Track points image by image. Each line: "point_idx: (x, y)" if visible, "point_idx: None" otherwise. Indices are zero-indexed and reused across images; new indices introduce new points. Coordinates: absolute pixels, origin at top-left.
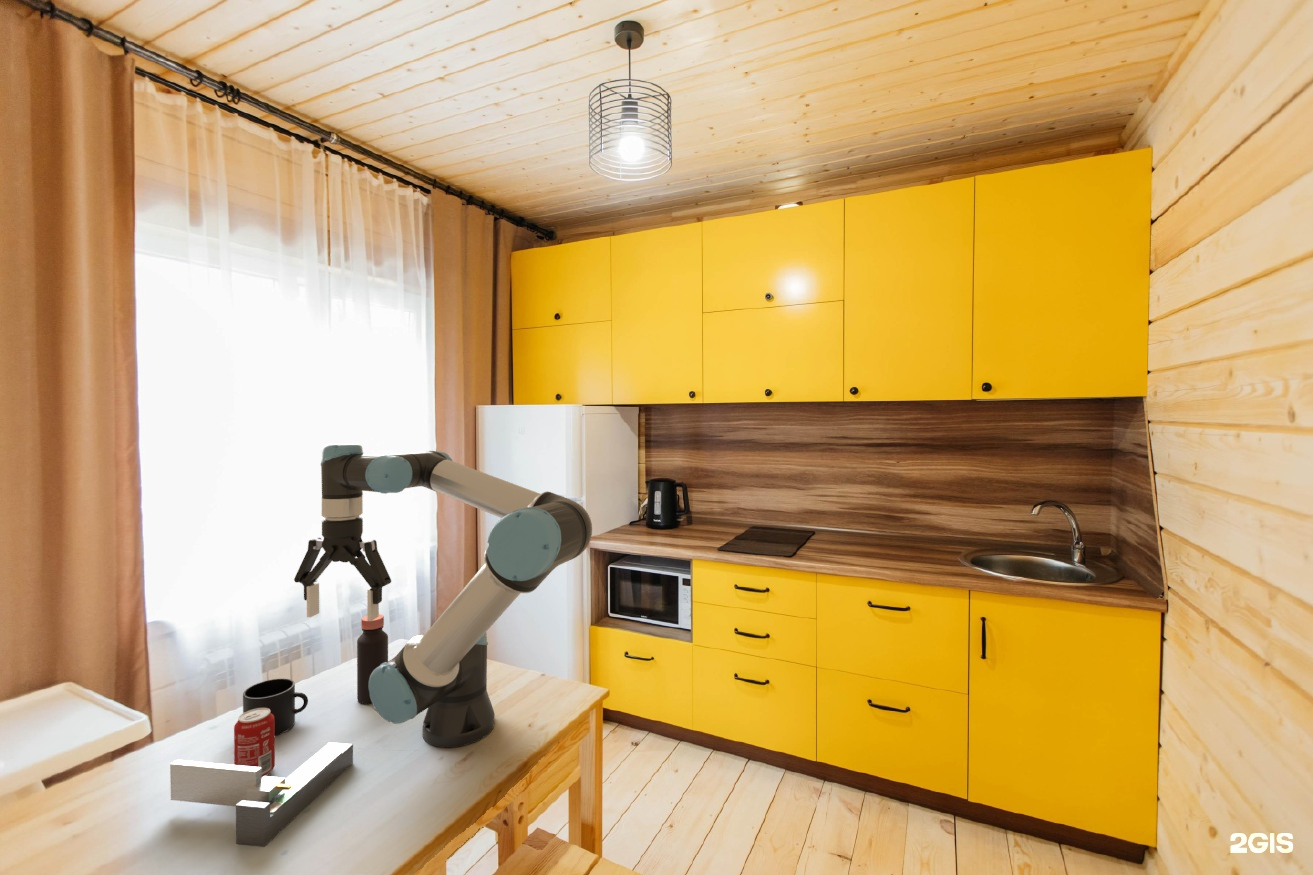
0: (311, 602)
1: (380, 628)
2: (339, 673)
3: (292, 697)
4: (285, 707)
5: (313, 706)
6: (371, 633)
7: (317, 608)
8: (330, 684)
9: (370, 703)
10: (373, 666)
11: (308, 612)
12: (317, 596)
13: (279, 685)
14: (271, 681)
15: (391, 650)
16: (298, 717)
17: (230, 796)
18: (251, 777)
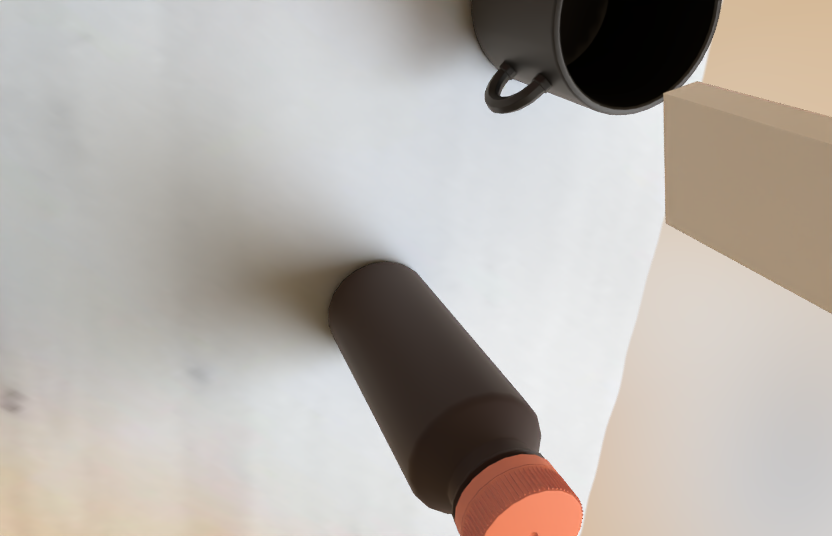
0: (799, 161)
1: (453, 510)
2: (607, 345)
3: (533, 58)
4: (515, 12)
5: (520, 170)
6: (469, 461)
7: (706, 220)
8: (581, 289)
9: (348, 276)
10: (386, 360)
11: (721, 98)
12: (828, 284)
13: (643, 89)
14: (681, 73)
15: None
16: None
17: None
18: None
